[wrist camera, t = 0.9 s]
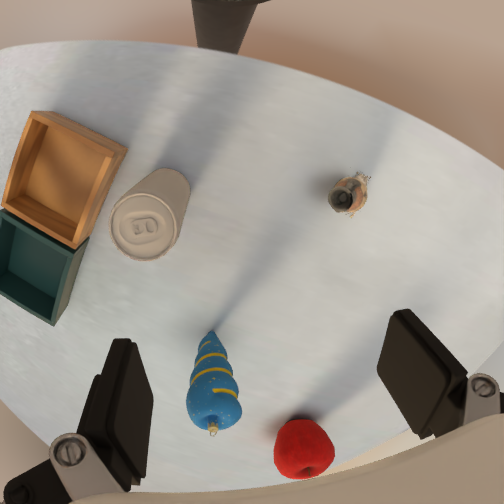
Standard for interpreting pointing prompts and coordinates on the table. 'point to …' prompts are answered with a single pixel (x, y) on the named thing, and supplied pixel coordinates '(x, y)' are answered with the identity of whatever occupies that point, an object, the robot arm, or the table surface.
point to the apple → (302, 449)
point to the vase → (341, 192)
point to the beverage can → (150, 215)
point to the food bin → (61, 176)
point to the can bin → (36, 268)
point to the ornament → (213, 388)
